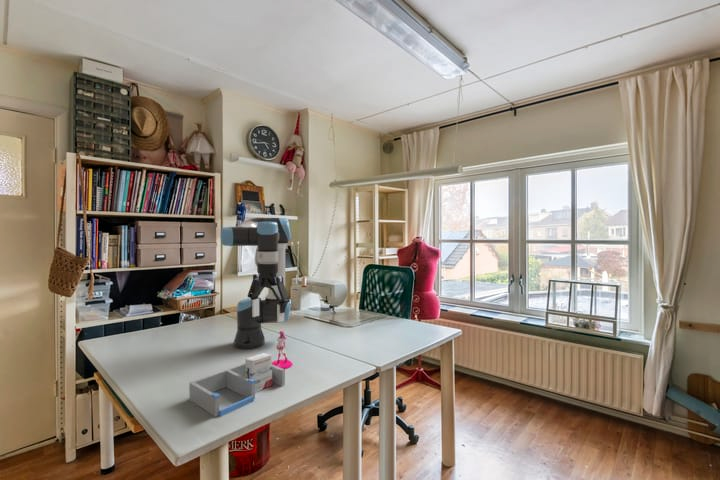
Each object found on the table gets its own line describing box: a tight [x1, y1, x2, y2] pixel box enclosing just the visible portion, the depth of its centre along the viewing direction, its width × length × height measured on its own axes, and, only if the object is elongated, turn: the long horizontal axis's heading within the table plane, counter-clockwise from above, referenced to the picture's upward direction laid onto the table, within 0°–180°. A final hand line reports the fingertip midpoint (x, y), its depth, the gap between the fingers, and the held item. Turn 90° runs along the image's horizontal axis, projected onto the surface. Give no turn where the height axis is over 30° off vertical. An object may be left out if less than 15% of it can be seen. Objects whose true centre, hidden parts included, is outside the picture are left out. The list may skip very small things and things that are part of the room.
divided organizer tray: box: [188, 362, 286, 417], centre depth 123 cm, size 18×28×7 cm, turn 142°
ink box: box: [245, 352, 273, 393], centre depth 126 cm, size 8×5×12 cm, turn 140°
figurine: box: [272, 330, 294, 370], centre depth 147 cm, size 10×10×15 cm
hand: (267, 318), depth 128 cm, fingers open, 13 cm apart
